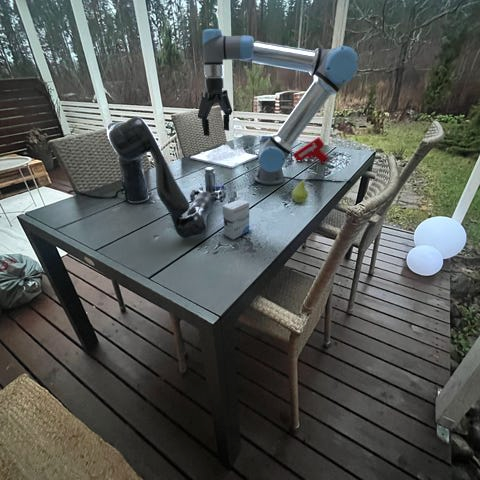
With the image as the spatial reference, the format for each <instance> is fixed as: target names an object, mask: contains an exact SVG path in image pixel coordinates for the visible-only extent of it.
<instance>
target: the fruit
mask: <svg viewBox="0 0 480 480" xmlns="http://www.w3.org/2000/svg"><path fill="white" fill-rule="evenodd" d="M310 177H311V175H310V174H309V175H308V176H307V177H305V178H304V179H305V180H306V179H310ZM305 180H302V181H299V182H298V184H297V185H296V186H295V187H294V188H293V190H292V191H291V198H292V200H293V201H294V202H295V203H297V204H301V203H304V202H305V201H306V200H307V198H308V196H309V195H308V190H307V189H306V184H305V183H306V181H305Z"/></svg>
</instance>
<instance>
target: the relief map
mask: <svg viewBox="0 0 480 480" xmlns="http://www.w3.org/2000/svg"><path fill="white" fill-rule="evenodd" d="M258 156H259V155H256V154H252V153H247V152H246V151H245V150H244V148H238V149H233V148H231V147H230V146H229V145H228V144H222V145H219V147H215V148H213V149H210V150H206V151H201V152H200V153H198V154H194V155H191V156H190V159H191V160H196V161H199V162H203V163H207V164H212V165H215V166H221V167H224V168H229V169H235V168H237V167H239V166H241V165H244V164H246V163H250V162H251V161H253V160H256V159H258Z"/></svg>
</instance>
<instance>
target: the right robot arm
mask: <svg viewBox="0 0 480 480" xmlns="http://www.w3.org/2000/svg"><path fill="white" fill-rule="evenodd" d="M201 45H202V53H203V54H202V55H203V65H204V66H203V67H204V68H203V69H204V76H205V79H204V86H205V89H206V90H207V91H202V92H201V99H200V104H199V109H198V113H197V118H198V119H199V120H201V126H202V130H203V136H205V137H210V135H211V134H210V120H209V119H208V118H209V115H210V112H211V110H212V108H213V106H214V105H215V104H218V105H219V107H220V109H221V111H222V112H223V115H222V121H223V131H228V132H229V131H230V116H231V115H232V113H233V108H232V105H231V102H230V99H229V95H228V94H229V93H228V90H227V89H224V87H225V83H224V80H225V79H224V78H223V77H224V75H225V74H224V61H227V60H229V61H241V62H248V63H255V64H259V65H265V66H266V65H267V66H272V67H277V68H284V69H290V70H294V71H301V72H305V73H309V75H310V76H312V77H313V82H312V83H311V84H310V86H309V87H308V88H307V90H306V92H305V93H304V94H303V96H302V98H301V99H300V101H299V102H298V103H297V104H296V106H295V107H294V109H293V110H292V111H291V113H290V114H289V115H288V117H287V118H286V120H285V121H284V123H283V124H282V125H281V126H280V128H279V129H278V131H277V132H276V133H273V134H272V133H271V134H263V135H260V137H259V151H258V155H257V156H258V157H257V159H258V167H257V171H256V173H255V177H254V181H255V183H258V184H259V185H262V186H263V185H264V186H279V185H281V184H283V183H284V181H285V179H287V180H292V181H298V182H301V181H302V180H305V179H306V178H295V177H291V176H290V177H289V176H285V175H284V172H283V171H284V170H283V167H284V165H285V163H286V159H287V158H288V157H289V155H290V154H291V153H292V152H293V145H294V143H296V141H297V140H298V138H300V136H301V135H302V133H303V132H304V131H305V129H306V128H307V126H308V125H309V124H310V123H311V121H312V120H313V119H314V117H315V116H316V115H317V114H318V113H319V111H320V110H321V109H322V108H323V106H324V104H325V103H326V102H327V100H328V99H329V98H330V97H331V96H333V95H337V94H338V93H339V91H340V90H341V89H342V87H343V86H344V85H345V84H347V83H348V82H350V80H352V78H353V77H354V76H355V75H356V73H357V71H358V68H359V57H358V54H357V52H356V51H355V50H354V49H353V48H352V47H350V46H347V45H340V46H337V47H334V48H327V49H326V48H325V49H323V48H316V49H315V50H310V49H305V48H301V47H300V48H299V47H294V46H288V45H281V44H276V43H271V42H264V41H259V40H254V37H253V36H252V35H246V34H242V35H223V32H222V30H221V29H220V28H206V29H204V30H202V44H201ZM323 179H324V178H307V179H306V180H305V182H309V181H314V182H315V181H316V182H317V181H318V182H319V181H320V182H331V183H344V182H345V181H341V180H335V181H332V180H333V179H328V180H323ZM346 182H347V183H349V184H351V181H350V180H349V181H346Z"/></svg>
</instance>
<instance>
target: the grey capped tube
mask: <svg viewBox="0 0 480 480" xmlns="http://www.w3.org/2000/svg"><path fill="white" fill-rule="evenodd" d="M203 174H204V183H205V184H204V185H205V192H208V193H210V192H214V191H217V190H216V172H215V168H214V167H212V166H207V167H205V168H204V172H203ZM214 195H215V194H214ZM217 203H218V200H217V201H215V203H214V205H213V206H215V205H217Z"/></svg>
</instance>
